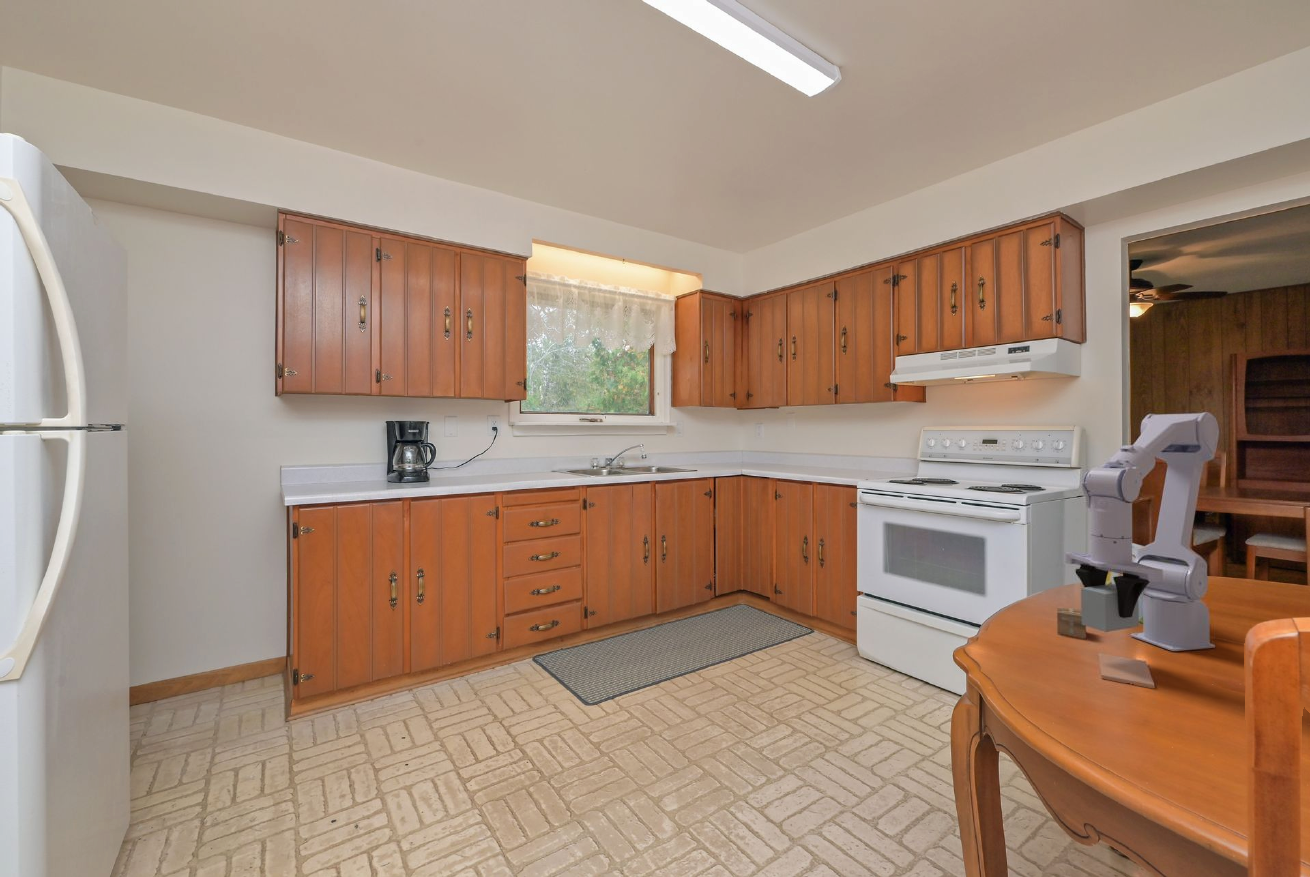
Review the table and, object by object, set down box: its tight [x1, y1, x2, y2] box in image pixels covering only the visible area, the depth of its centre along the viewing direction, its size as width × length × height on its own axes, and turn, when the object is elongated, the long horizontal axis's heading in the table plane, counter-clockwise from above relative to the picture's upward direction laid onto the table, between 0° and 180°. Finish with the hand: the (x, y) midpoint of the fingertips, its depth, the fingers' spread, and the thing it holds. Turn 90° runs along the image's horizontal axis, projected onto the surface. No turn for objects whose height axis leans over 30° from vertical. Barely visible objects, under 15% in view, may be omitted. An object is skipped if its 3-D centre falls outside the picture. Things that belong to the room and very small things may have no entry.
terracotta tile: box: [1097, 652, 1155, 690], centre depth 94 cm, size 11×6×1 cm, turn 144°
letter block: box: [1056, 606, 1087, 639], centre depth 112 cm, size 5×4×5 cm
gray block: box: [1080, 584, 1140, 633], centre depth 98 cm, size 4×8×6 cm, turn 107°
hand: (1111, 612), depth 98 cm, fingers open, 4 cm apart
